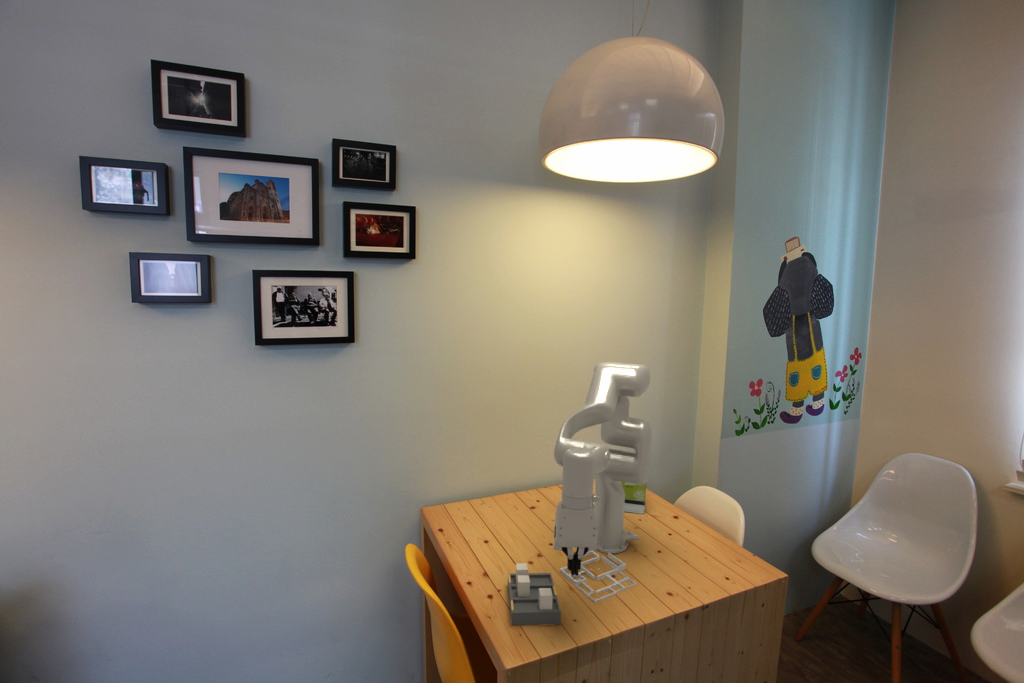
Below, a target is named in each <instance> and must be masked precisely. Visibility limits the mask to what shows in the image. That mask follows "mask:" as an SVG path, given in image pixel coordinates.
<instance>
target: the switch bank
mask: <svg viewBox="0 0 1024 683" xmlns="http://www.w3.org/2000/svg"><path fill="white" fill-rule="evenodd" d="M528 575H529V579H530V597H518V594H517V584H516V572H515V573H507V589H508V590H507V591H508V592H507V593H508V601H509V602H508V603H509V611H510V612H509V613H510V622H511V623H510V624H511V626H542V625H541V624H558V625H561V615H562V611H561V607H560V603H559V599H558V595H557V590H556V587H555V583H554V580H553V575H552V572H543V573H542V572H534V573H532V572H531V573H530V572H528ZM539 588H551V591H552V595H553V598H552V610H540V609H539V604H538V602H539ZM538 624H540V625H538Z"/></svg>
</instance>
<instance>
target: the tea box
mask: <svg viewBox="0 0 1024 683" xmlns="http://www.w3.org/2000/svg"><path fill="white" fill-rule="evenodd" d="M619 482H620V483H621V485H622V487H623V489H624V493H625V502H624V513H625V512H626V513H632V514H639V515H644V514H645V508H646V495H647V494H646V493H647V482H646V483H645V484H633V483H627V482H622V481H619Z"/></svg>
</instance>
